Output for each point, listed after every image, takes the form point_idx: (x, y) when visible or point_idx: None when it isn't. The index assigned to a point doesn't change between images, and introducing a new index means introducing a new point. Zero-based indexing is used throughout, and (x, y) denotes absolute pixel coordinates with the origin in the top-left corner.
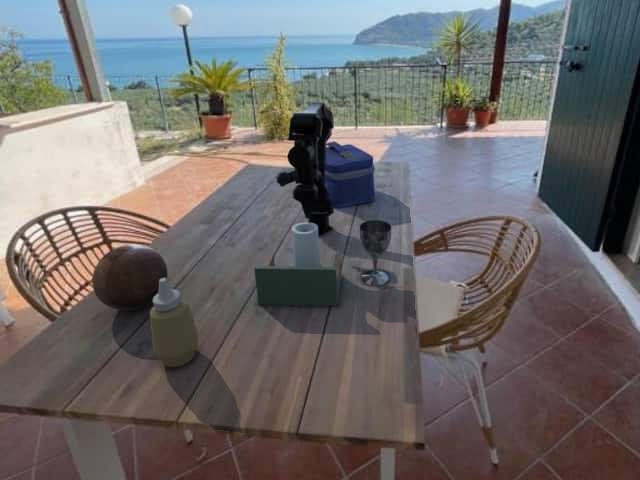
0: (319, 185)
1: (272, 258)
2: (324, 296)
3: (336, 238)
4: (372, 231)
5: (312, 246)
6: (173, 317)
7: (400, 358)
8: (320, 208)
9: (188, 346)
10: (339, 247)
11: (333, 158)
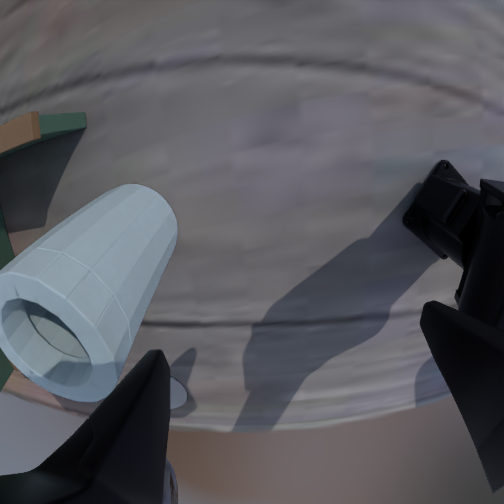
0: (490, 481)
1: (6, 151)
2: None
3: (376, 282)
4: (172, 487)
5: (58, 327)
6: None
7: (11, 388)
8: (469, 295)
9: None
10: (310, 303)
11: None
